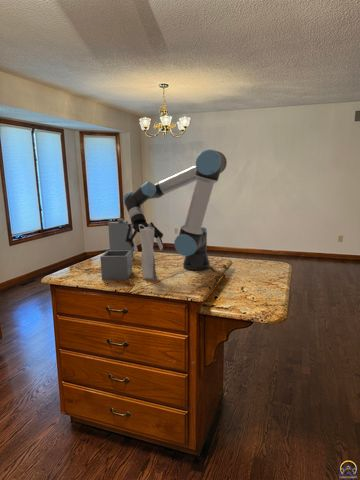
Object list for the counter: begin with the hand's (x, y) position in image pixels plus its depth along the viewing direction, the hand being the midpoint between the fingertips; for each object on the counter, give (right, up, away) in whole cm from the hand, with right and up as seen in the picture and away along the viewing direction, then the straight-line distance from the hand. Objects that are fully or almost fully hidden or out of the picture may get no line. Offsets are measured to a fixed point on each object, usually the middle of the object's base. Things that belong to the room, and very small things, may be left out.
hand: (149, 250), depth 160 cm
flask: (-23, -6, +50) cm, 55 cm away
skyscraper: (-1, -15, +5) cm, 15 cm away
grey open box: (-18, -14, +9) cm, 24 cm away
